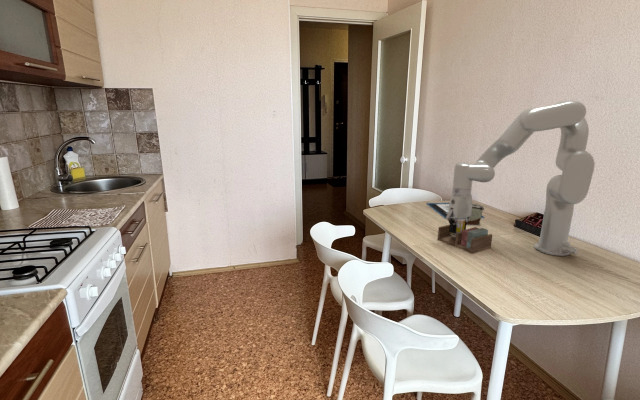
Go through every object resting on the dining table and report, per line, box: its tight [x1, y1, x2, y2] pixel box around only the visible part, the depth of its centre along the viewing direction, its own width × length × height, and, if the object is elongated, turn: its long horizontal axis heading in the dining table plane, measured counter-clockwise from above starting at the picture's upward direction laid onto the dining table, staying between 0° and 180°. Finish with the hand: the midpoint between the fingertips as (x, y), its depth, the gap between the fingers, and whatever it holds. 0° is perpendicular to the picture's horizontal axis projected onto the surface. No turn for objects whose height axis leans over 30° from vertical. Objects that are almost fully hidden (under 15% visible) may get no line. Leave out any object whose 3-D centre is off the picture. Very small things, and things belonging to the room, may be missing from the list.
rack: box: [437, 224, 493, 255], centre depth 151 cm, size 18×12×8 cm, turn 30°
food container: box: [466, 203, 485, 226], centre depth 179 cm, size 12×6×10 cm, turn 84°
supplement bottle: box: [450, 216, 465, 237], centre depth 154 cm, size 6×6×10 cm
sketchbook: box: [425, 201, 485, 220], centre depth 202 cm, size 22×30×2 cm
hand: (457, 231), depth 154 cm, fingers closed on supplement bottle, 5 cm apart
